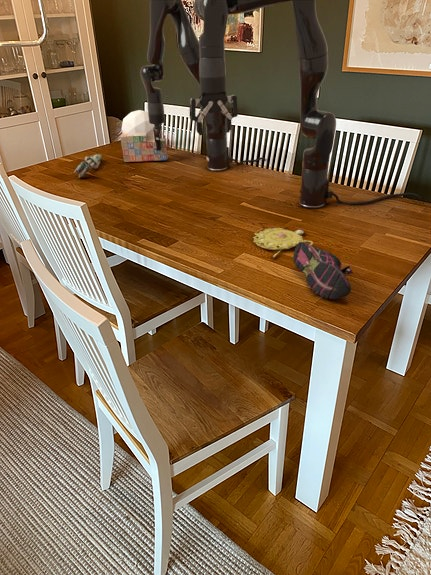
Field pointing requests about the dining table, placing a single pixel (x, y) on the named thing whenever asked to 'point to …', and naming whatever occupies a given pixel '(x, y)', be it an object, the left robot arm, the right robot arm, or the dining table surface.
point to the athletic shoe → (322, 271)
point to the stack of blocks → (142, 148)
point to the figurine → (88, 164)
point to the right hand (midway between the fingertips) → (214, 133)
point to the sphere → (138, 124)
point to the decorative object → (279, 239)
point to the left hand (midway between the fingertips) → (159, 148)
